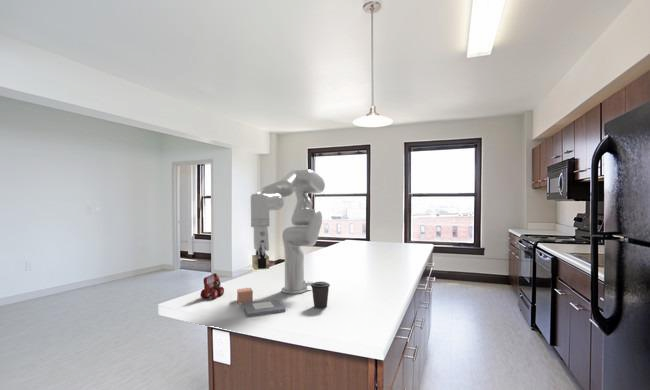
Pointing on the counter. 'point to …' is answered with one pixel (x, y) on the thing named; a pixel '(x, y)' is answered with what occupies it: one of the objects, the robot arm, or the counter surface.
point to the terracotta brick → (244, 295)
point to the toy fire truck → (212, 287)
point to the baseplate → (263, 307)
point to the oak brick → (255, 262)
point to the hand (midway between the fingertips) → (260, 266)
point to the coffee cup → (320, 294)
